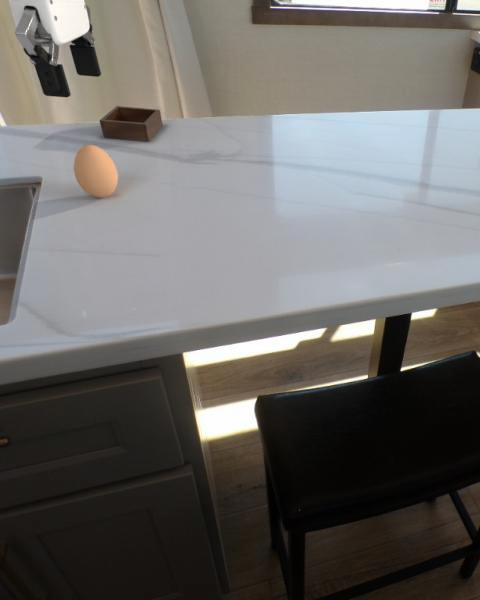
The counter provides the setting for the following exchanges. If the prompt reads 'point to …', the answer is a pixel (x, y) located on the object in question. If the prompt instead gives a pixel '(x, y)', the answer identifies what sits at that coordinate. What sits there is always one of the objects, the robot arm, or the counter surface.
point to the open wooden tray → (131, 123)
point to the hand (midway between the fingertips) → (74, 85)
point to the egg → (95, 171)
